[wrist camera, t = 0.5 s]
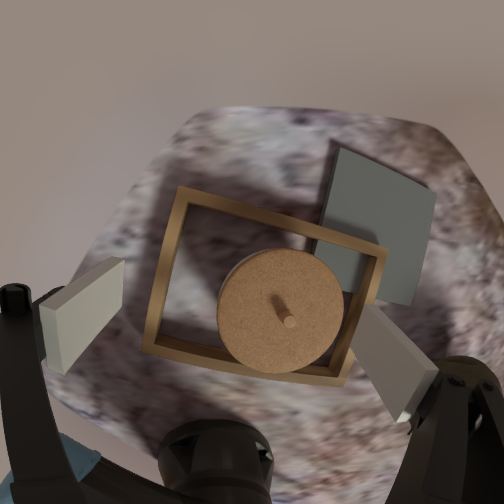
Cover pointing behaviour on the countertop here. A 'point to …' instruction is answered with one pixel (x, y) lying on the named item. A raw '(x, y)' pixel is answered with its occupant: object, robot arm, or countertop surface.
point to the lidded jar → (279, 310)
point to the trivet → (376, 225)
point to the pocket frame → (223, 358)
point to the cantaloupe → (464, 373)
